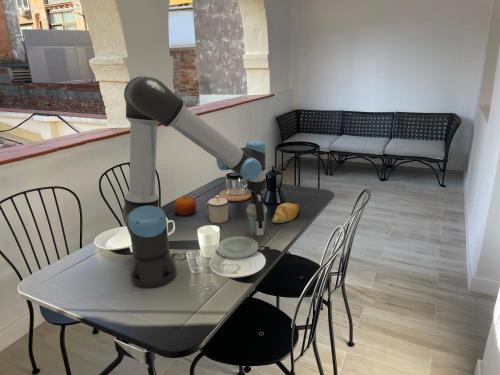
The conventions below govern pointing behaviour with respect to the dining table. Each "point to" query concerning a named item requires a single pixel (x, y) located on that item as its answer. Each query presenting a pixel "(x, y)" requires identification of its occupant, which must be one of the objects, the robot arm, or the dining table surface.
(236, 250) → the saucer
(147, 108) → the robot arm
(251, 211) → the coffee cup
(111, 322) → the dining table surface
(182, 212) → the fruit
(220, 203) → the teacup with lid
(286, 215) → the croissant
